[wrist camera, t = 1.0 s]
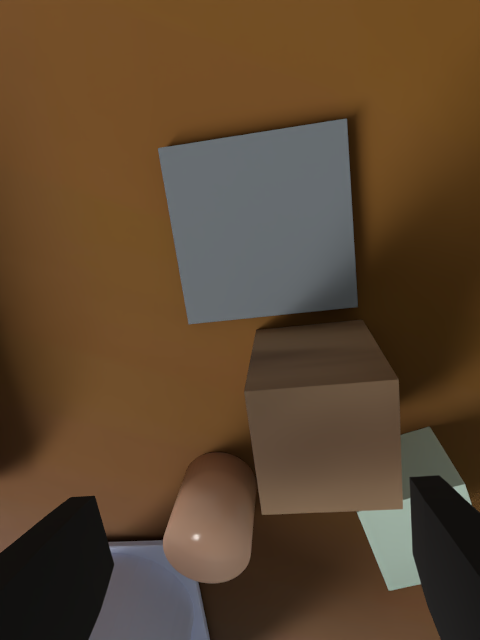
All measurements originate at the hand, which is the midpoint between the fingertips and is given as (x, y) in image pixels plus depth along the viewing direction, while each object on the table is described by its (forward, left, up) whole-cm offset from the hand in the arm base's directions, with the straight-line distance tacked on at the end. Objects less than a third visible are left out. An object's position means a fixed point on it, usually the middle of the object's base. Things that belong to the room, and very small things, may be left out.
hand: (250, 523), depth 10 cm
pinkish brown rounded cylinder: (-6, +3, -10) cm, 12 cm away
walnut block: (-1, -2, -10) cm, 10 cm away
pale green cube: (-6, -5, -10) cm, 13 cm away
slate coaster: (+6, 0, -10) cm, 11 cm away
